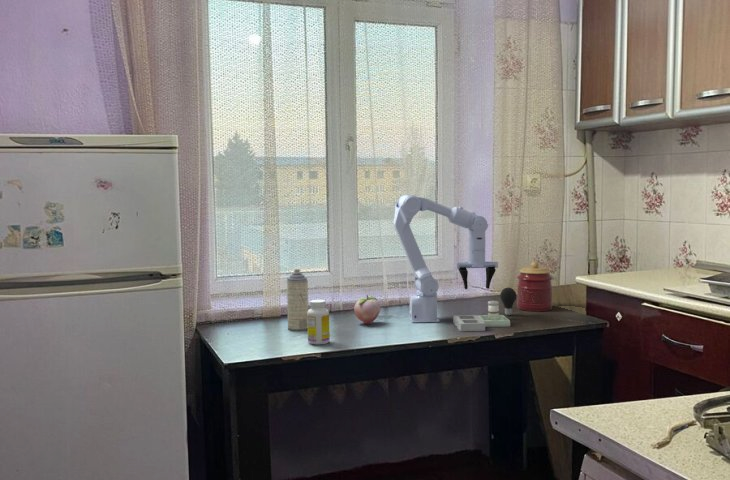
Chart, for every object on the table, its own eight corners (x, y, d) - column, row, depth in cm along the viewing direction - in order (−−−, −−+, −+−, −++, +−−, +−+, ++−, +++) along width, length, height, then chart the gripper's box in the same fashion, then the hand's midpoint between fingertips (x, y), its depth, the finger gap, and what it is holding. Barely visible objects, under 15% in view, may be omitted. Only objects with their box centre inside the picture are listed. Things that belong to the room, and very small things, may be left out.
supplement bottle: (329, 339, 217) (329, 298, 216) (329, 344, 210) (328, 302, 209) (308, 340, 217) (307, 299, 215) (307, 345, 210) (306, 303, 209)
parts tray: (482, 327, 232) (482, 321, 232) (476, 321, 241) (476, 315, 241) (510, 326, 232) (510, 320, 232) (503, 320, 241) (503, 314, 241)
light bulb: (515, 313, 252) (515, 286, 251) (517, 317, 247) (517, 289, 246) (499, 313, 253) (499, 286, 252) (500, 316, 247) (501, 288, 246)
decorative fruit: (363, 320, 244) (363, 291, 243) (384, 322, 240) (383, 293, 239) (349, 325, 236) (348, 296, 235) (370, 328, 232) (369, 298, 231)
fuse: (489, 323, 235) (489, 302, 234) (486, 321, 238) (486, 300, 238) (500, 323, 235) (500, 302, 234) (497, 320, 238) (497, 300, 238)
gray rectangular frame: (460, 331, 226) (460, 323, 226) (453, 322, 239) (453, 315, 239) (485, 330, 226) (485, 323, 226) (476, 322, 239) (476, 315, 239)
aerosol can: (312, 327, 234) (311, 268, 232) (302, 332, 228) (301, 271, 226) (294, 325, 237) (293, 267, 235) (284, 330, 230) (282, 269, 228)
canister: (510, 306, 266) (510, 260, 264) (540, 304, 270) (541, 258, 268) (528, 313, 254) (528, 264, 252) (559, 310, 258) (560, 262, 256)
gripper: (458, 251, 240) (458, 290, 241) (500, 250, 240) (500, 290, 242) (454, 249, 247) (454, 287, 248) (495, 248, 247) (495, 286, 249)
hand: (476, 288), depth 245 cm, fingers open, 7 cm apart
